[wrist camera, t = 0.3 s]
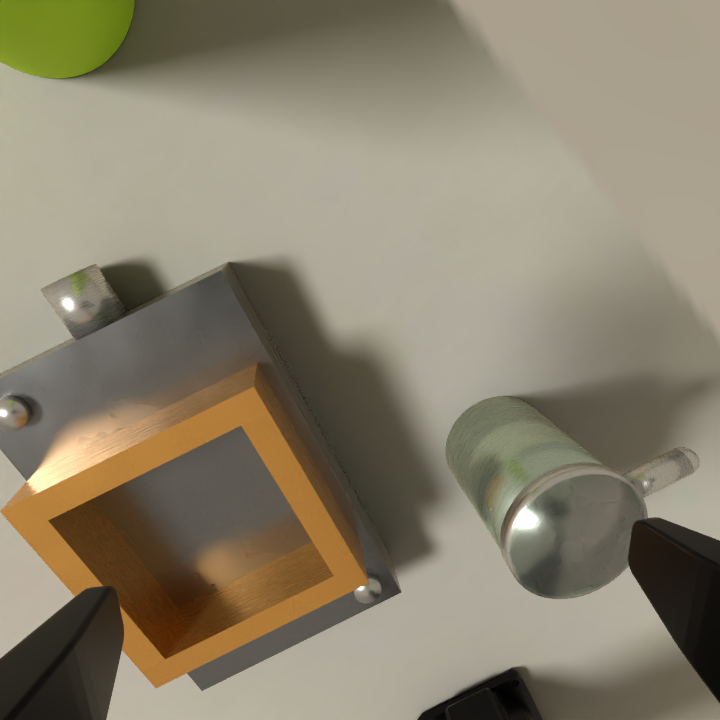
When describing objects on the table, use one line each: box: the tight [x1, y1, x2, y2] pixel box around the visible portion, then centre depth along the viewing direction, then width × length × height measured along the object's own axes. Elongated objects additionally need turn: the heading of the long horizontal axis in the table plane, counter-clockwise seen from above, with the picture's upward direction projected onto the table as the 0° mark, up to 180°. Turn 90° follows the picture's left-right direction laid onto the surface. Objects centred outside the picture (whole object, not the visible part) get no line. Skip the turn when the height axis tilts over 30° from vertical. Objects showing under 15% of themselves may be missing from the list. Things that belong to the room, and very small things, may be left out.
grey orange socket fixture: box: [0, 262, 401, 691], centre depth 19 cm, size 18×10×5 cm, turn 25°
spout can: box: [446, 396, 699, 599], centre depth 21 cm, size 5×8×7 cm, turn 115°
